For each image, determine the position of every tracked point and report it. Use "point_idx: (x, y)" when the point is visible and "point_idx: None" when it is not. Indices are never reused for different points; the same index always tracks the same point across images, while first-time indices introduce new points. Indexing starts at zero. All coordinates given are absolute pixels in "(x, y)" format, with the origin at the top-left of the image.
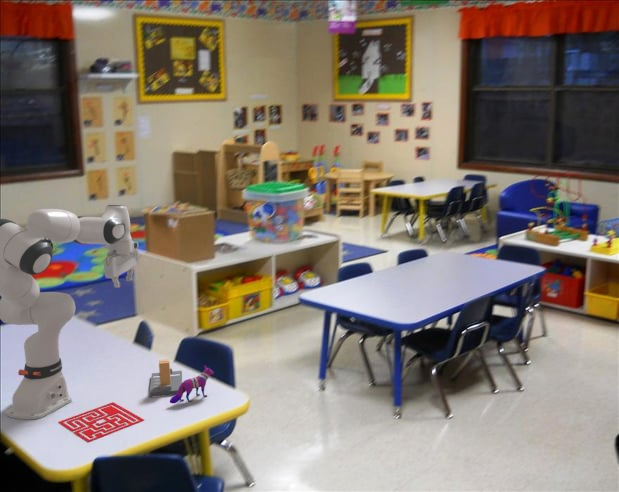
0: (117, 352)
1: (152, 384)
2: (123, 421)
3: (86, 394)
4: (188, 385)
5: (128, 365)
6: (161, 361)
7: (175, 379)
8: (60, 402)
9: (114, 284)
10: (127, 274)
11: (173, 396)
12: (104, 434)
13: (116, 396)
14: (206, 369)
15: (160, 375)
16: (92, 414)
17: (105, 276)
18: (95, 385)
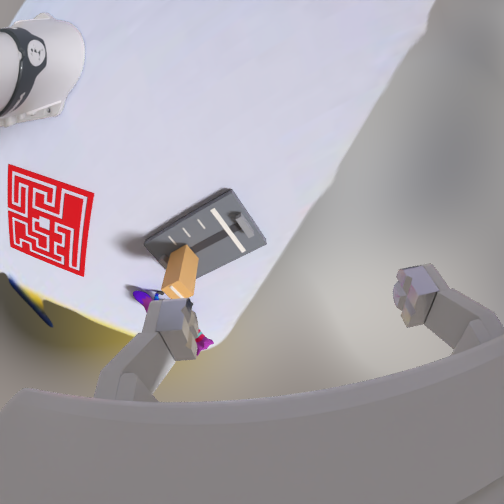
0: (359, 18)
1: (178, 228)
2: (62, 254)
3: (95, 113)
4: None
5: (283, 89)
6: (172, 289)
7: (219, 255)
8: (37, 112)
9: (146, 324)
10: (447, 300)
11: (139, 300)
12: (29, 253)
13: (116, 179)
14: (198, 347)
15: (167, 270)
16: (48, 193)
17: (9, 402)
18: (140, 93)
